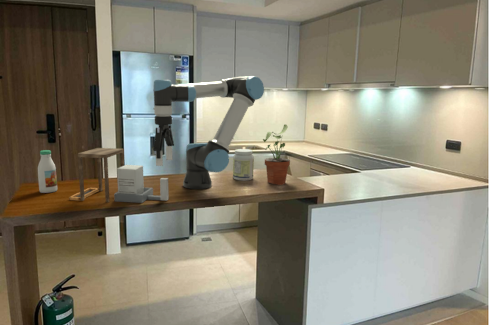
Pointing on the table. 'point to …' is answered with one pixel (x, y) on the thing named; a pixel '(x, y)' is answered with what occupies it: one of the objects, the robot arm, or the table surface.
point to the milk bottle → (47, 173)
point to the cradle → (145, 194)
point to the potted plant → (277, 162)
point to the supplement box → (130, 179)
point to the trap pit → (86, 193)
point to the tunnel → (98, 154)
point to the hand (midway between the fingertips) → (164, 162)
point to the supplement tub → (243, 164)
